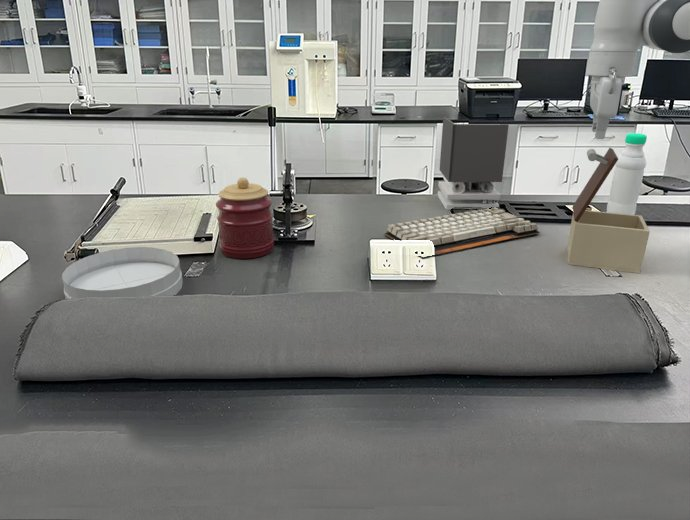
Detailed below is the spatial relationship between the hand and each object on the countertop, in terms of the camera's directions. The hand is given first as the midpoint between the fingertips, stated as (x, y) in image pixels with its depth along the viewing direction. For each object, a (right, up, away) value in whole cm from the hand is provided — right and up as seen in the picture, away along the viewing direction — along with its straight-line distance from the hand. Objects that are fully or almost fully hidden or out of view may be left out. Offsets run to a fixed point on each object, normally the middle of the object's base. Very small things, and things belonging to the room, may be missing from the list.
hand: (597, 135), depth 114 cm
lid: (+1, -10, +4) cm, 11 cm away
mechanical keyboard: (-24, -20, +25) cm, 40 cm away
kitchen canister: (-78, -25, +14) cm, 83 cm away
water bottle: (+20, -18, +31) cm, 41 cm away
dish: (-99, -33, -7) cm, 104 cm away
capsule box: (+5, -27, +9) cm, 29 cm away
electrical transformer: (-16, -9, +53) cm, 56 cm away
